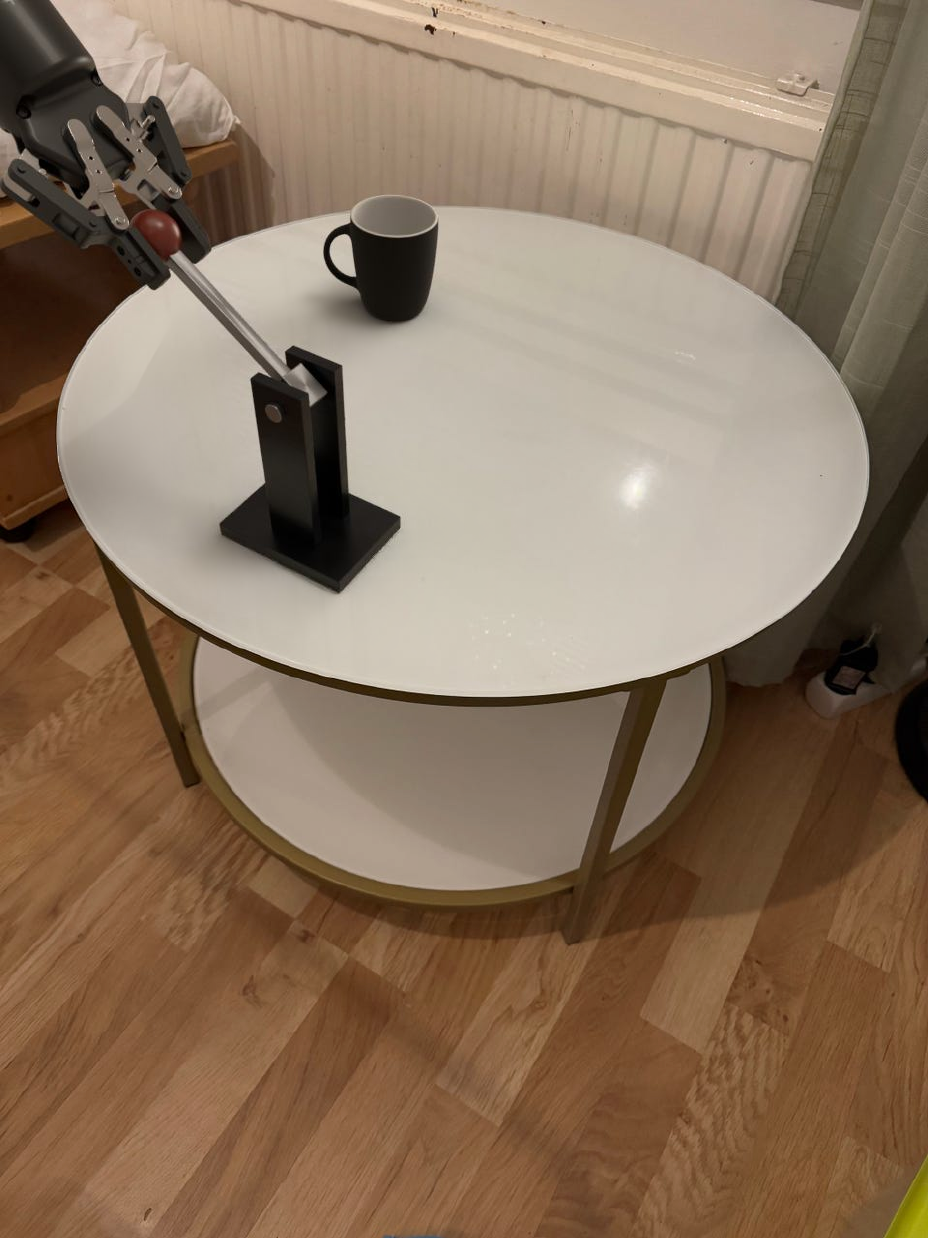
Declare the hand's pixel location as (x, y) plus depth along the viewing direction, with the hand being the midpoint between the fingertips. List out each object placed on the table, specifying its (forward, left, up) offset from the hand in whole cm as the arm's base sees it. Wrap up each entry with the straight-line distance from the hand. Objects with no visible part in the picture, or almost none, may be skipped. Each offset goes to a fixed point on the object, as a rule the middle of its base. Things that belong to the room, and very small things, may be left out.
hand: (183, 268), depth 63 cm
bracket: (+7, -6, -20) cm, 23 cm away
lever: (+2, -2, -4) cm, 5 cm away
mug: (+18, +28, -21) cm, 39 cm away
